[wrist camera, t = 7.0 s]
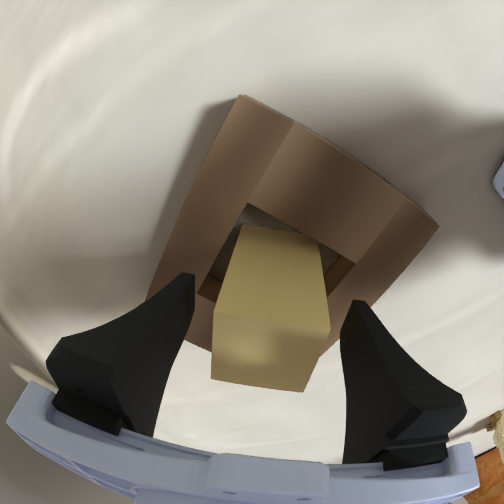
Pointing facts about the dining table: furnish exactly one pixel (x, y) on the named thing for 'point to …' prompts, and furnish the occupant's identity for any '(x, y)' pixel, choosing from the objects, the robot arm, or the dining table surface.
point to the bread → (488, 479)
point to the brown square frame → (292, 212)
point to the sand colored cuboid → (270, 311)
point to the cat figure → (498, 431)
